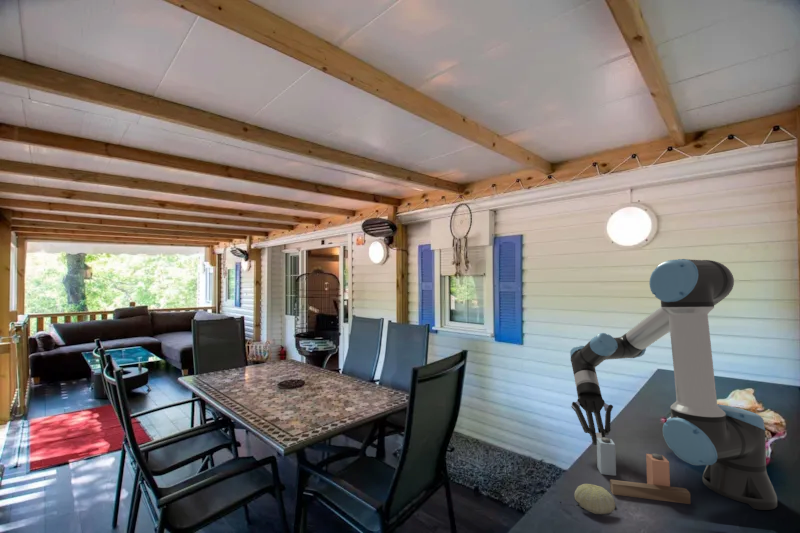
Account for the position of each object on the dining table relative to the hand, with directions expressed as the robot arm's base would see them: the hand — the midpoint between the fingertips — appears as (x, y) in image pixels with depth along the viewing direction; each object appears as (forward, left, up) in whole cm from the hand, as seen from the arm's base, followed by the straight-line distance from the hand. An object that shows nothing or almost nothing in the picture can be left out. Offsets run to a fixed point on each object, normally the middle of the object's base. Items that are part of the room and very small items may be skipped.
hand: (602, 455), depth 114 cm
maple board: (-11, 0, -5) cm, 12 cm away
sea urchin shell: (-11, +19, -5) cm, 22 cm away
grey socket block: (-3, +2, -3) cm, 5 cm away
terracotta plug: (-16, -1, -3) cm, 16 cm away
